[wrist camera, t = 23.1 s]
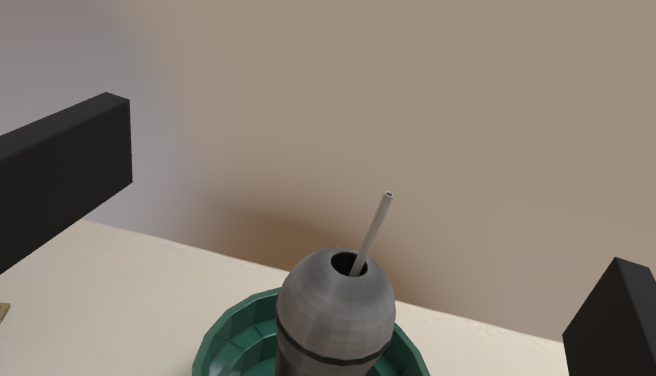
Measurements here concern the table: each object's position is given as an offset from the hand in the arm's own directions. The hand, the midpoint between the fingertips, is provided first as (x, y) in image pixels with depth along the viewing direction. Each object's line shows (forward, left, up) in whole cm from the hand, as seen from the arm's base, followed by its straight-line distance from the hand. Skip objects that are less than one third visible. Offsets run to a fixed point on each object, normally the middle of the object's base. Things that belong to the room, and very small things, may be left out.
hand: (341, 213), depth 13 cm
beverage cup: (-5, -8, -25) cm, 27 cm away
